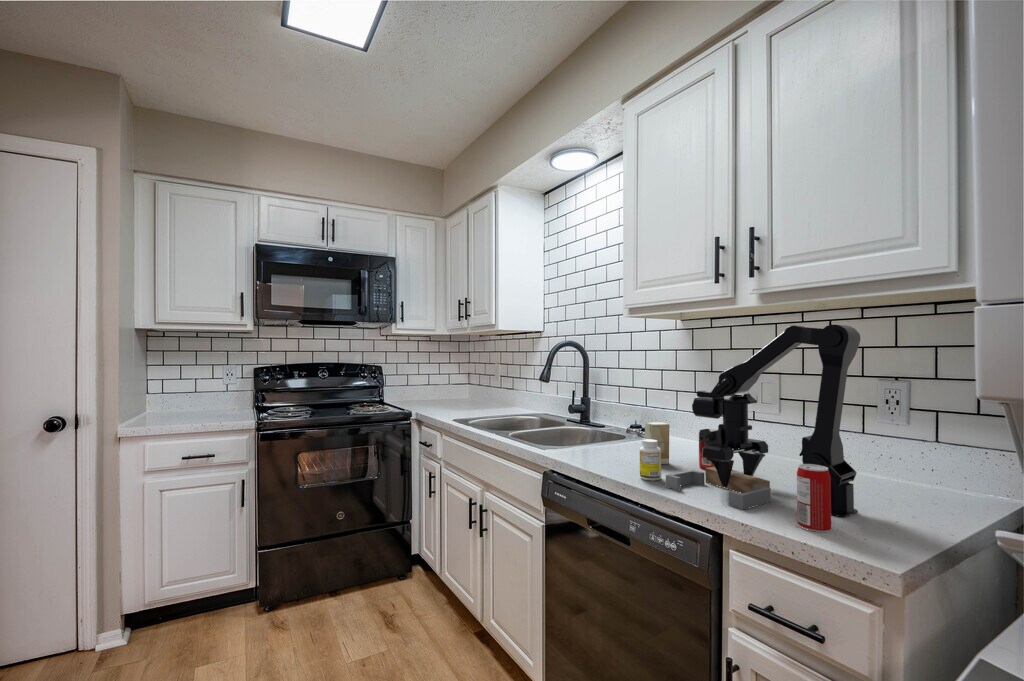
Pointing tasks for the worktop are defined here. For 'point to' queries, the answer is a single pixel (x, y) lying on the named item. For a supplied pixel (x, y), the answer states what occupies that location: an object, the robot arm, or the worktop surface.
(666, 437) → the skincare box
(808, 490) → the soda can
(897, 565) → the worktop surface
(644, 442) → the supplement bottle
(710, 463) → the canned food
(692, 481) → the end cap
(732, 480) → the slat
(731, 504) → the end cap
